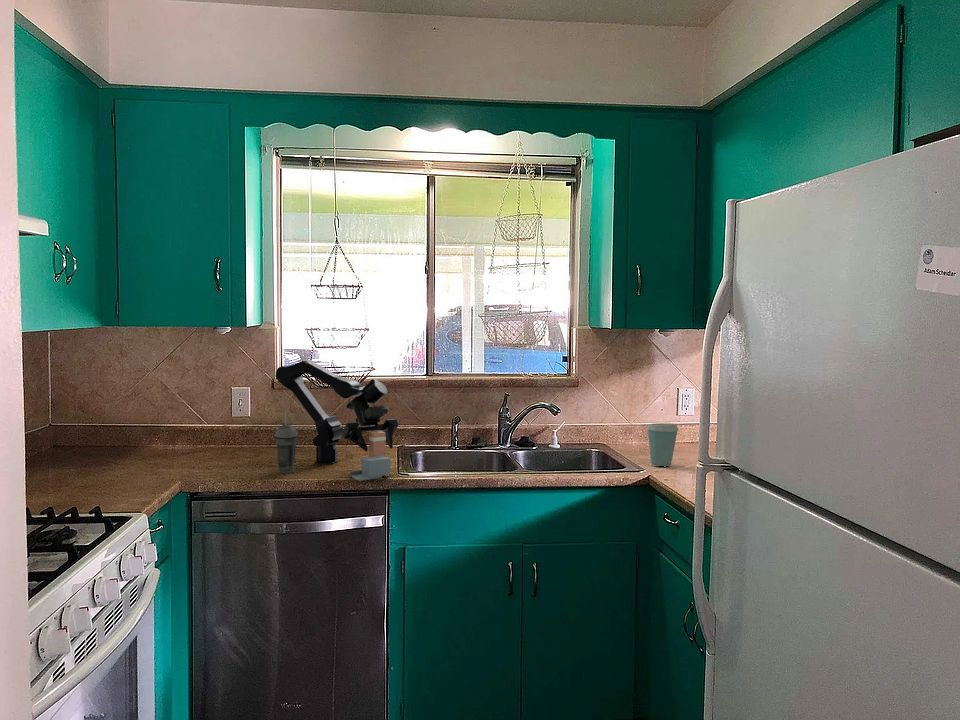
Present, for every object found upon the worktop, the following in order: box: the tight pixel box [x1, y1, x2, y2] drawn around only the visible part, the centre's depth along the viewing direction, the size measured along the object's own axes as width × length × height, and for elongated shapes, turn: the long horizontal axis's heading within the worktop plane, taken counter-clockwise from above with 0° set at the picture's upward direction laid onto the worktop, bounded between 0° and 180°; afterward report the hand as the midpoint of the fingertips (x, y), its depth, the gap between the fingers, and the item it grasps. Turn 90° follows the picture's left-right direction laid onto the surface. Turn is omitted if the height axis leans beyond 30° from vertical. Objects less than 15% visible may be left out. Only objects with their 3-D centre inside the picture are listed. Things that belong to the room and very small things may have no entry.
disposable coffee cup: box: [646, 422, 679, 467], centre depth 270 cm, size 11×11×15 cm
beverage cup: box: [274, 410, 299, 474], centre depth 252 cm, size 7×7×20 cm
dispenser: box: [349, 455, 391, 482], centre depth 246 cm, size 6×11×6 cm, turn 126°
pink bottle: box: [368, 431, 386, 458], centre depth 255 cm, size 3×4×13 cm
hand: (379, 449), depth 253 cm, fingers open, 9 cm apart
